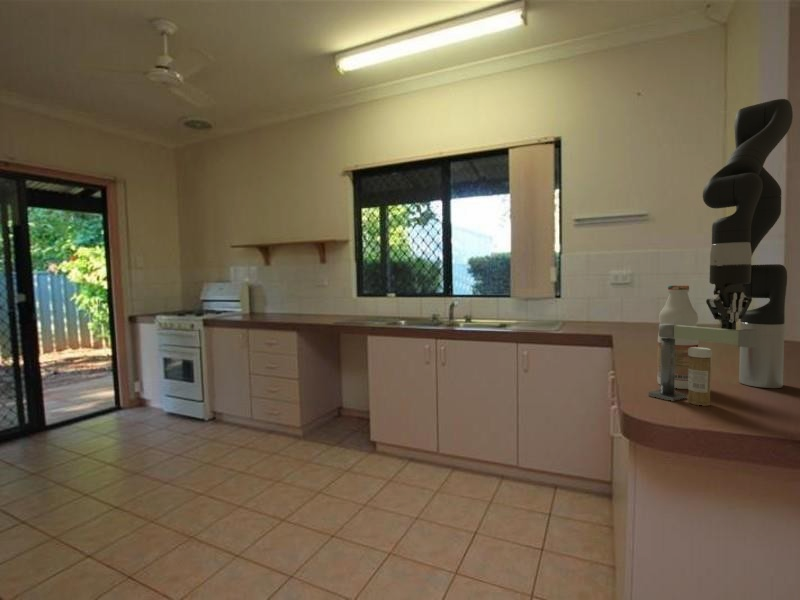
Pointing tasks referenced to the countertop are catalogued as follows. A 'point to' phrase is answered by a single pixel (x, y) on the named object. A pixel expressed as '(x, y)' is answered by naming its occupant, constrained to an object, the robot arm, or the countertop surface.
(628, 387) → the countertop surface
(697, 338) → the swing bar
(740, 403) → the countertop surface
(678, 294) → the fruit juice
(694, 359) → the sprinkles bottle
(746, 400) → the countertop surface
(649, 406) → the countertop surface
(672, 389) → the post
